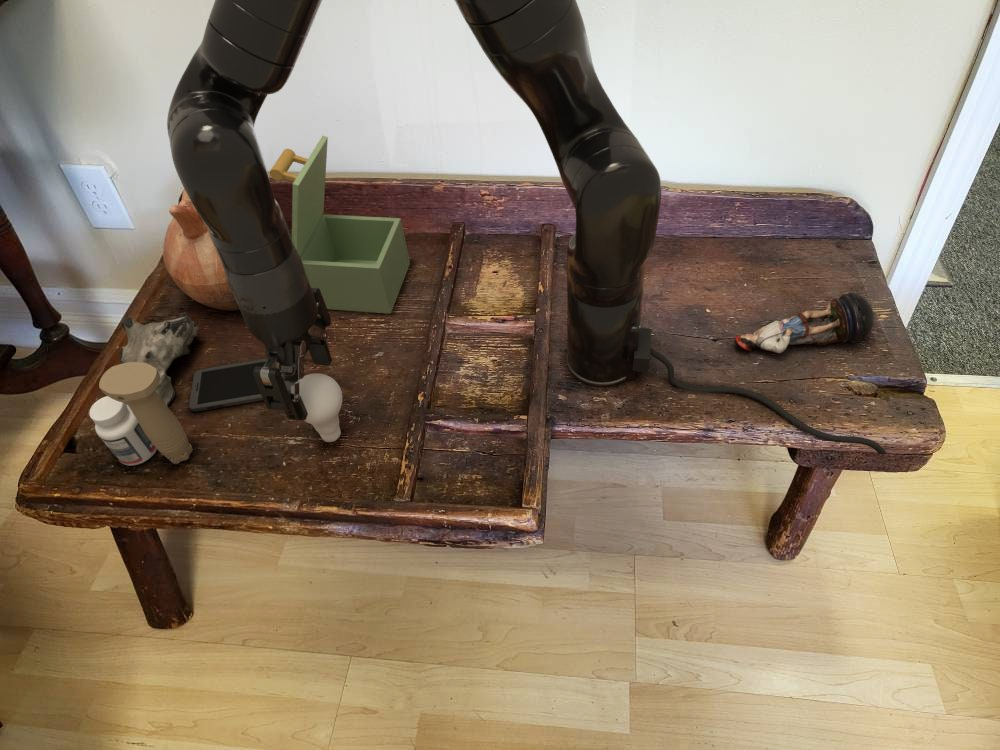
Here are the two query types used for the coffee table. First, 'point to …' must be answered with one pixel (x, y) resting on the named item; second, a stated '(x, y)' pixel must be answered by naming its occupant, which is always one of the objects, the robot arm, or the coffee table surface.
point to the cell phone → (228, 385)
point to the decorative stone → (158, 346)
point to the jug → (195, 258)
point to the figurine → (815, 326)
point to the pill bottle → (121, 431)
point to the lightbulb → (322, 404)
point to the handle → (147, 407)
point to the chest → (357, 262)
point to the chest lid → (304, 190)
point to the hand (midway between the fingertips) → (311, 389)
